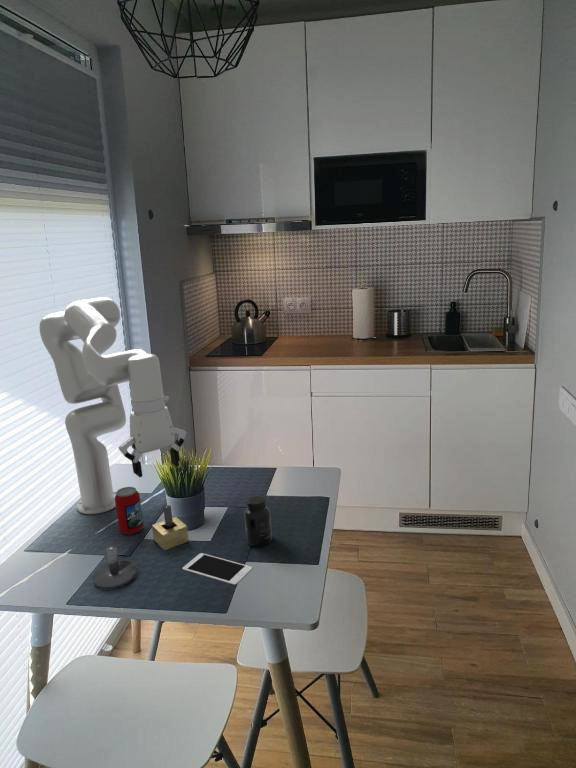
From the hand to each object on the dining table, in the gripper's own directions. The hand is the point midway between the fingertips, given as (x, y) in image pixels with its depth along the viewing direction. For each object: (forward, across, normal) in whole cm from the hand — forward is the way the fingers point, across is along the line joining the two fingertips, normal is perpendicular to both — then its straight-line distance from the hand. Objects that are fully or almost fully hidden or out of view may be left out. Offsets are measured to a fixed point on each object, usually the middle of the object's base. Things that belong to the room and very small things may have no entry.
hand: (157, 470), depth 149 cm
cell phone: (+24, -6, +15) cm, 29 cm away
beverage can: (+23, +3, -18) cm, 29 cm away
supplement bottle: (+23, -21, +11) cm, 33 cm away
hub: (+23, +15, +3) cm, 27 cm away
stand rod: (+23, -3, -5) cm, 24 cm away
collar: (+23, -3, -5) cm, 24 cm away
